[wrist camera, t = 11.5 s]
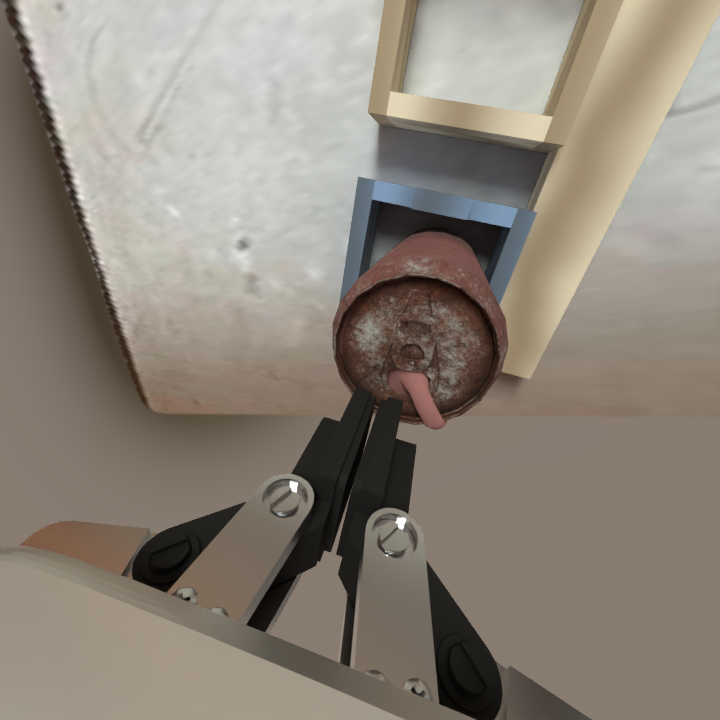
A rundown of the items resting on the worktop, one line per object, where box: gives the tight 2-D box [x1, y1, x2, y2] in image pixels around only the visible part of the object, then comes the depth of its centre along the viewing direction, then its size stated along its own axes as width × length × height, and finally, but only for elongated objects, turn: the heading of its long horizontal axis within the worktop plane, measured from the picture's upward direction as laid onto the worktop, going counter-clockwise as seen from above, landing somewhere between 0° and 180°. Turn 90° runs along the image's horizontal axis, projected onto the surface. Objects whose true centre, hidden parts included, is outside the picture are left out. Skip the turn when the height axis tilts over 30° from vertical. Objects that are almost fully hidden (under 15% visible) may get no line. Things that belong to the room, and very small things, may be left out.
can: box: [333, 228, 509, 429], centre depth 16 cm, size 6×6×14 cm
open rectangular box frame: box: [340, 0, 720, 379], centre depth 17 cm, size 14×23×4 cm, turn 170°
